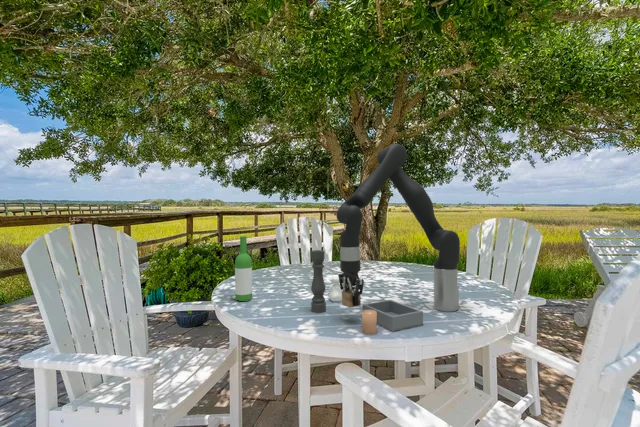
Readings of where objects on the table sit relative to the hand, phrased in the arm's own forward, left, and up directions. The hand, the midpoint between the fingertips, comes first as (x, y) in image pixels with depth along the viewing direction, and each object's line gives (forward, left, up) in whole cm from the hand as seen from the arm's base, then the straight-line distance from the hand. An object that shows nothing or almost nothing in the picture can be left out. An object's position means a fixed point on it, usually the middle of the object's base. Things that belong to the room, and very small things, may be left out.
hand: (351, 303), depth 125 cm
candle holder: (+4, -18, -7) cm, 20 cm away
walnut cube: (0, 0, -1) cm, 1 cm away
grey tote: (-14, +7, -7) cm, 17 cm away
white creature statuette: (-11, -28, -7) cm, 31 cm away
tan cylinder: (0, +12, -7) cm, 14 cm away
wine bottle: (+27, -50, -7) cm, 58 cm away
